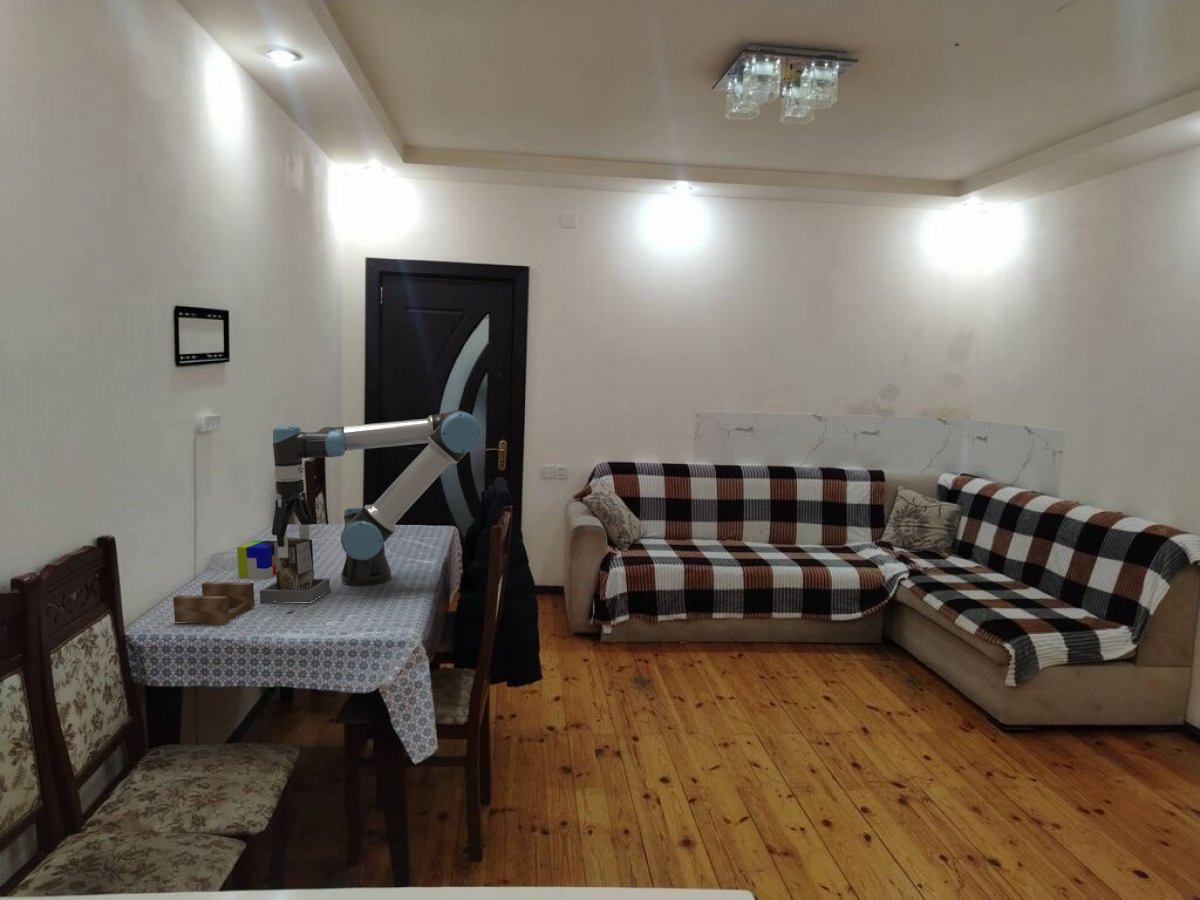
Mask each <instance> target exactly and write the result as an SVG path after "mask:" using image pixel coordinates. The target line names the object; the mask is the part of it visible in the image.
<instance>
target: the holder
mask: <svg viewBox="0 0 1200 900" xmlns="http://www.w3.org/2000/svg"><path fill="white" fill-rule="evenodd" d="M201 591H202V595H176V596H174V597H173V599H172V602H173V612H174V615H173V616H174V623H175V622H187V623H202V624H201V625H227V624H229V623H230V622H231V621H232V620H231V619H233V618H234V619H236V618H237V617H236V616H238V615H239V616H241V615H242V614H241V613H243V612H245V611H246V612H248V611H249V610H248V609H250V610H252V609H254V608H255V607H256V604H255V589H254V582H232V581H231V582H225V581H223V582H219V581H218V582H217V581H215V582H214V581H205V582H203V583H201ZM254 606H255V607H254ZM253 607H254V608H253ZM229 608H234V609H229ZM251 608H252V609H251ZM247 610H248V611H247ZM246 612H245V613H246ZM240 614H241V615H240ZM243 614H244V613H243ZM239 616H238V617H239ZM235 617H236V618H235ZM234 619H233V620H234ZM230 620H231V621H230ZM229 621H230V622H229ZM228 622H229V623H228ZM226 623H227V624H226Z"/></svg>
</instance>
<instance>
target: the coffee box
mask: <svg viewBox="0 0 1200 900" xmlns="http://www.w3.org/2000/svg"><path fill="white" fill-rule="evenodd" d="M287 541H288V556H289V557H288V558H278V548H277V542H274V550H275V564H276V575H275V576H276V581H277V590H309V589H311V588H313V587H314V586H315V584H314V579H315V571H314V568H315V567H314V551H313V539H300V537H299V538H298V537H297V538H296V537H287Z"/></svg>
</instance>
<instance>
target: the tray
mask: <svg viewBox="0 0 1200 900" xmlns="http://www.w3.org/2000/svg"><path fill="white" fill-rule="evenodd" d="M330 579H331V578H314V584H315V586H314V587H313V588H311V589H309V590H277V580H275V581H274V582H273V583H270V584H268V585H267V586H265V587H263V588H261V589H260V590H259V601H260V602H274V601H276V602H311V601H313V600H315V599H316V598H318V597H319V596H321V595H322V594H324V593H325V592H327V591H328V590H330V591H331V586H330V585H331V583H330V582H331V581H330ZM327 593H328V592H327ZM324 595H325V594H324ZM321 597H322V596H321ZM318 599H319V598H318ZM315 601H316V600H315ZM260 602H259V603H260Z"/></svg>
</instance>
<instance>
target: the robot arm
mask: <svg viewBox="0 0 1200 900" xmlns="http://www.w3.org/2000/svg"><path fill="white" fill-rule="evenodd" d="M481 435H482V428H481V426H480V422H479V420H478V419H477V418H476V417H475V416H473V414H470V413H469V412H467V411H464V410H451V411H447V412H443V413H439V414H430V415H429V416H428V417H426V418H421V419H420V418H419V419H418V418H417V419H409V420H408V419H407V420H401V421H400V420H399V421H397V420H396V421H388V422H377V423H376V422H375V423H366V424H358V425H357V424H356V425H344V426H335V427H332V426H326V427H323V428H320V429H318V431H309V432H307V431H302V430H301V427H300V426H299V425H281V426H280V425H279V426H276V427H274V428H273V429H272V447H273V459H274V460H273V461H274V475H275V476H274V478H275V480H276V481H275V489H276V491H275V492H276V494H278V495H280V496H281V499H276V500H275V510H274V516H273V523H272V527H271V534H272V536H276V541H277V548H278V558H288V557H289V556H288V541H287V538H288V534H286V532H287V529H288V525H289V522H290V518H291V515H293V514H294V515H295V516H296V519H297V520H298V522H299V523H300V524H298V533H299V534H298V535H299V538H300V539H310V525H312V523H313V517H312V513H311V510H310V507H309V504H308V500H307V495H306V494H307V493H306V492H305V481H304V479H302V478H303V477H304V471H305V469H304V467H303V459H309V458H310V459H312V458H317V459H318V458H333V459H334V458H336V457H338V458H339V457H343V456H344V455H345V453H346V451H356V450H366V449H376V448H378V449H379V448H388V447H399V446H409V445H418V444H419V445H420V444H428V445H426V447H425V448H424V449H423V450H422V451H421V452H420V453H419V454H418V456H417V457H415V459H413V461H412V462H411V463H410V464H409V465H408V466H407V467H406V468H405V469H404V471H402V473H401V474H400V475H399V476H398V477H397V478H396V479H395V480H394V481H393V482H392V483H391V484H390V485H389V487H387V488H386V490H385V491H384V492H383V493H382V495H380V496H379V498H378V499H377V500H376V501H375V502H374V503H372V504H365V505H364V506H363V507H350V508H347V509H345V510H344V512H343V513H344V515H343V519H344V528H343V530H342V532H341V534H340V543H341V548H342V549H343V551H344V553H345V560H344V564H343V568H342V570H341V575H340V576H341V577H340V578H341V583H342V582H343V583H342V584H344V583H345V584H344V585H347V584H349V585H348V586H354V585H364V586H372V585H377V584H383V583H386V582H387V581H390V580H391V579H392V569H391V567H390V564H389V561H388V559H387V556H386V552H385V551H386V550H385V543H386V542H388V539H389V538H390V537H391V536H392V535H393V534H394V533H395V532H396V523H397V522H398V521H399V520H400V519H401V518H402V517H403V516H404V514H405V513H406V512H407V511H408V510H409V509H410V508H411V507H412V505H414V503H415V502H416V501H417V500H418V499H420V497H421V496H422V495H423V494H424V493H425V492H426V491H427V489H428V488H430V487H431V485H432V484H433V483H434V482H435V480H437V479H438V477H439V476H440V475H441V474H442V473H443V472H444V471H445V470H446V469H447V467H449V466H450V465H451V464H458V463H459V462H460V461H461V460H462V459H463V458H464V456H465V457H466V455H467V454H468V453H469V452H470V451H472V450H474V449H475V448H476V447H477V445H479V443H480V439H481ZM310 540H311V539H310Z"/></svg>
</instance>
